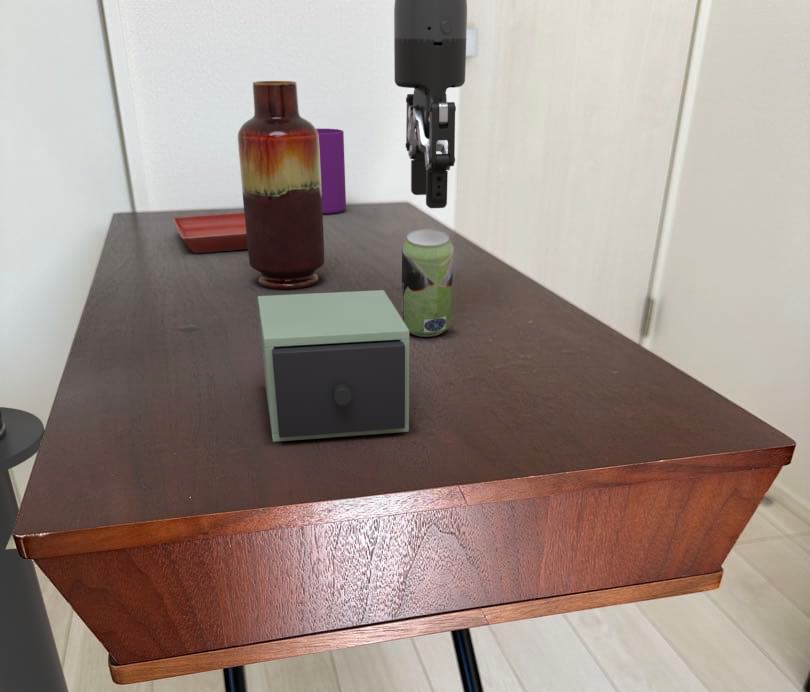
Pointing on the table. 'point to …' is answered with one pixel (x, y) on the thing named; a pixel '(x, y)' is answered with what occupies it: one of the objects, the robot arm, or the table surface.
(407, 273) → the beverage can
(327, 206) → the mug
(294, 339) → the cabinet
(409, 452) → the table surface
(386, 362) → the drawer
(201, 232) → the plant saucer
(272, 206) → the vase
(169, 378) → the table surface
